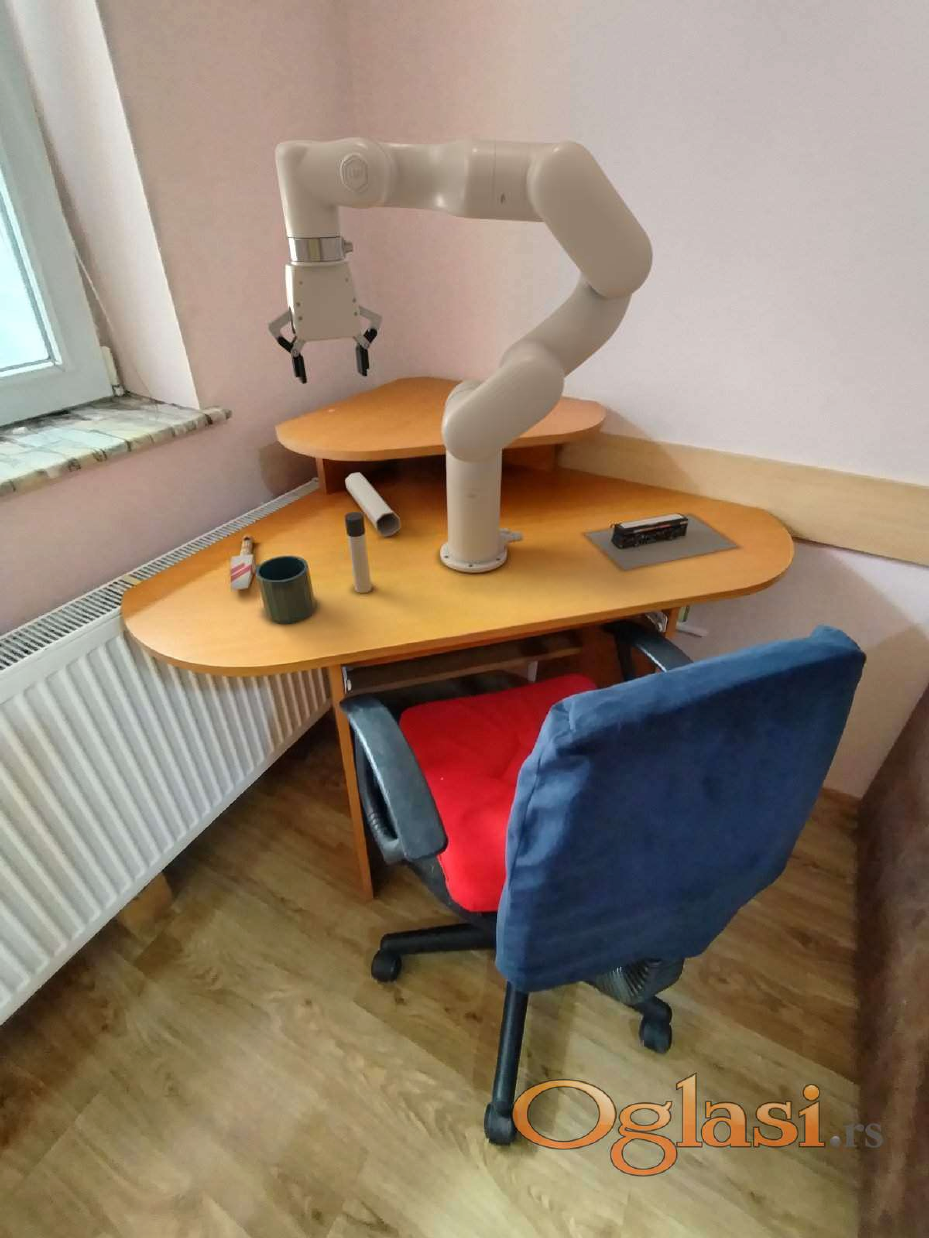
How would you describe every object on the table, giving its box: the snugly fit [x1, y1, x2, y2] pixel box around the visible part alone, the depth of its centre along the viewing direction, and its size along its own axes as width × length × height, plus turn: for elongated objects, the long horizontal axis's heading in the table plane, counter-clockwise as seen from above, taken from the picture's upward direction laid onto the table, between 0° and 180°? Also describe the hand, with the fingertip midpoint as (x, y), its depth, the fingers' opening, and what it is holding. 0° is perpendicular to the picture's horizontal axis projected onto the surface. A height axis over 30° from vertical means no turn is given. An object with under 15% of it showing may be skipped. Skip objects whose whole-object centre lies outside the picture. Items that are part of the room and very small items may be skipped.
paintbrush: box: [230, 534, 257, 591], centre depth 109 cm, size 4×3×20 cm
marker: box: [344, 511, 372, 594], centre depth 100 cm, size 3×3×14 cm
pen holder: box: [254, 555, 316, 625], centre depth 97 cm, size 8×8×8 cm
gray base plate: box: [585, 512, 738, 571], centre depth 116 cm, size 14×25×4 cm, turn 109°
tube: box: [344, 471, 402, 538], centre depth 127 cm, size 5×5×25 cm
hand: (333, 378), depth 95 cm, fingers open, 9 cm apart
